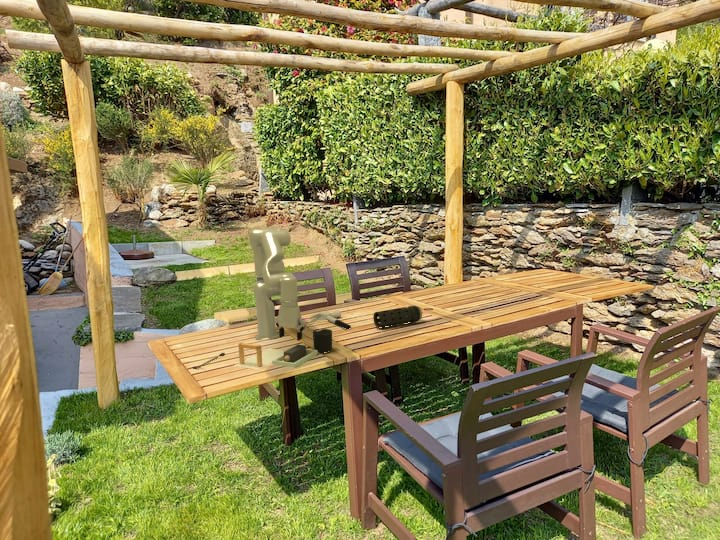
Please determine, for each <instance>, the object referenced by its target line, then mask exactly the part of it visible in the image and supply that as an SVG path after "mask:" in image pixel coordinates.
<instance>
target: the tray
mask: <svg viewBox="0 0 720 540" xmlns="http://www.w3.org/2000/svg"><path fill="white" fill-rule="evenodd" d="M318 353H319V352H318V350H314V349H311V348H310V349H309V348H306V356H304V357H303V358H301V359H299V360H297V361H296V362H294V363H291V362H284V355H282V356H280V357H278V358H276V359H274V360H272V363H271V364H272V365H274V366H275V365H276V366H281V367H282V366H283V367H287V368H289V367H290V368H296V367H297V366H299V365H301V364H302V365H304V364H305V363H304V362H306V361H307V362H309V361H310V360H309V359H311V358H312V359H314V358H315V357H314V356H316V355H317V354H318ZM318 355H319V354H318ZM313 357H314V358H313ZM316 357H317V356H316ZM312 359H311V360H312ZM308 360H309V361H308ZM307 362H306V363H307ZM303 363H304V364H303ZM302 365H301V366H302ZM299 367H300V366H299ZM296 369H297V368H296Z"/></svg>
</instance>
